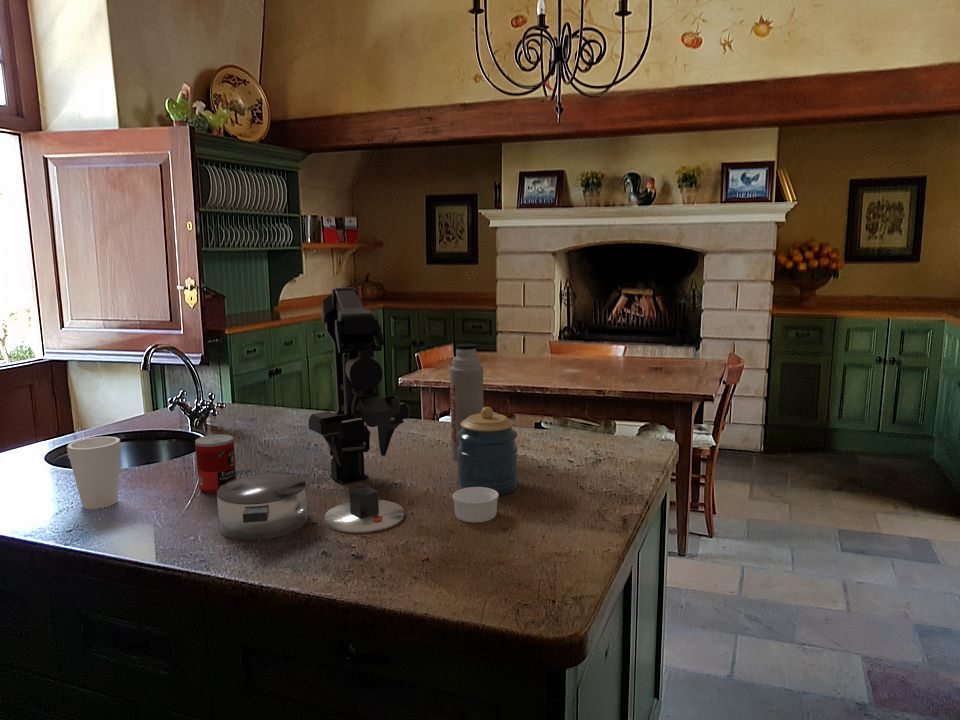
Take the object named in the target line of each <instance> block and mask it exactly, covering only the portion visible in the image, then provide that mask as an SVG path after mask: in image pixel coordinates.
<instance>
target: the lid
mask: <svg viewBox="0 0 960 720" xmlns="http://www.w3.org/2000/svg"><path fill="white" fill-rule="evenodd" d="M348 494H349V501H348V502H344V503H340V504H338V505H336V506H334V507H332V508H330V509H329V510H328V511H326V513H325V515H324V523H325V525H326V526H327V527H328V526H329V527H330V529H331V528H332V529H331V530H333V529H335V530H334V531H336V530H337V532H340V531H342V532H341V533H346V532H347V533H348V534H368V533H367V532H369V533H374V532H373V531H376V532H380V531H379V530H381V531H383V530H382V529H384V530H387V529H386V528H388V529H390V528H392V526H393V527H395V526H397V525H398V524H399V522H400V521H401V520H403V519H404V517H405V510H404V508H403V507H402V506H401V505H400V504H398V503H396V502H393V501H390V500H385V499H379V490H376V489H374V488H372V487H371V486H368V485H367V486H362V487H357V488H355V489H351V490H349V493H348ZM401 522H402V521H401ZM401 522H400V523H401ZM396 524H397V525H396ZM394 525H395V526H394ZM329 527H328V528H329ZM347 533H346V534H347Z"/></svg>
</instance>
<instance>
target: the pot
mask: <svg viewBox="0 0 960 720" xmlns="http://www.w3.org/2000/svg"><path fill="white" fill-rule="evenodd" d="M216 500H217V501H216V502H217V513H218V525H219V532H220V533H221V535H223V536H224V537H226V538H229V539H233V540H240V541H261V540H267V539H268V540H269V539H275V538H279V537H282V536H283V537H284V536H286V535H288V534H291V533H293V532H296V531H298V530H299V528H300V529H301V528H302V527H304V526H303V525H304V524H305V523H307V522H308V520H309V519H308V504H307V502H308V501H307V486H306V481H305V480H304V479H303V478H302V477H300V476H297V475H293V474H284V473H280V472H279V471H272V472H271V471H270V472H268V471H267V472H258V473H257V475H250V476H245V477H241V478H236V480H234V481H231V482H229V483H227V484H225V485H223V486H222V487H220V488H219V489H218V491H217V493H216ZM307 519H308V520H307ZM305 525H306V524H305Z"/></svg>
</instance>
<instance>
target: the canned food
mask: <svg viewBox="0 0 960 720" xmlns="http://www.w3.org/2000/svg"><path fill="white" fill-rule="evenodd" d="M194 441H195V443H194V446H195V458H196V468H197V469H196V470H197V479H198V488H199V489H200V491H201V492H203V493H205V492H206V493H207V494H217V491H218V489H219V488H220V487H222V486H223V485H225V484H227V483H229V482H231V481H234V480H237V469H236V453H235V439H234V436H232V435H229V434H223V433H222V434H210V435H205V436H200V437H198V438H196V439H195V440H194ZM206 493H205V494H206Z"/></svg>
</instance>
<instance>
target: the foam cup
mask: <svg viewBox="0 0 960 720" xmlns="http://www.w3.org/2000/svg"><path fill="white" fill-rule="evenodd" d="M66 450H67V458H68V459H69V461H70V462H69V463H70V465H71V469H72V472H73V476H74V481H75V483H76V488H77V491H78V494H79V498H80V503H81V504H82V505H81V506H82V508H83V509H85V510H90V509H91V510H100V509H99V508H101V509H105V508H104V507H106V508H109V507H111V505H112V506H114V505H116V504H117V502H118V498H119V481H120V480H119V478H120V455H121V454H120V453H121V451H122V447H121V439H120V438H118V437H117V436H109V435H108V436H96V437H86V438H82V439H78V440H75V441H73V442H70V443H68V444H67V446H66ZM115 503H116V504H115ZM113 504H114V505H113ZM108 506H109V507H108Z"/></svg>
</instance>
